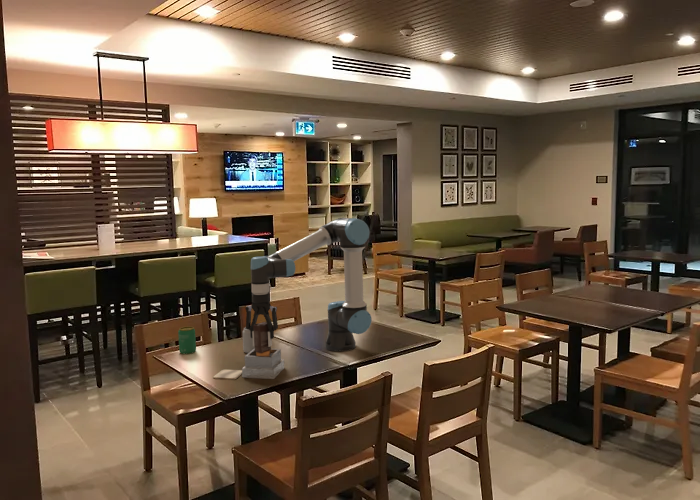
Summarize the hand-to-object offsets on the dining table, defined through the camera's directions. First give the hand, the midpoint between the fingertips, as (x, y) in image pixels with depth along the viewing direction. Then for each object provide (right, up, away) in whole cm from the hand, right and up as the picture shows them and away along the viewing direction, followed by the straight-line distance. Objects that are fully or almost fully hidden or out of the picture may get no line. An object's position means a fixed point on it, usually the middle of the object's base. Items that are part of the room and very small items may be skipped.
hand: (262, 345), depth 243 cm
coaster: (-14, -13, -1) cm, 19 cm away
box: (0, -3, 0) cm, 3 cm away
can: (-11, -9, +33) cm, 36 cm away
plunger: (0, -6, +1) cm, 6 cm away
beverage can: (-42, -9, +34) cm, 55 cm away
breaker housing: (0, -12, +1) cm, 12 cm away
